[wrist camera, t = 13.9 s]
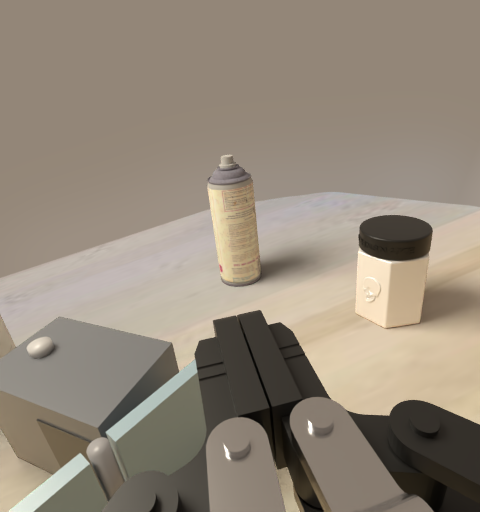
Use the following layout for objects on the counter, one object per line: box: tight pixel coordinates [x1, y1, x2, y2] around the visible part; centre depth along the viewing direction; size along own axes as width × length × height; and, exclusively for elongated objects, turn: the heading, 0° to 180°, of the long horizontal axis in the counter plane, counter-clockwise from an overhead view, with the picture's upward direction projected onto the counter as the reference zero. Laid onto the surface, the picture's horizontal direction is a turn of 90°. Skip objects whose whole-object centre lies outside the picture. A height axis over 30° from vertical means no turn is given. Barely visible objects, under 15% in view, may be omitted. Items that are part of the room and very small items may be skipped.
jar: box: [355, 215, 433, 328], centre depth 46 cm, size 9×8×12 cm
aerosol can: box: [207, 155, 261, 287], centre depth 57 cm, size 7×7×20 cm
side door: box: [8, 360, 206, 512], centre depth 26 cm, size 20×1×10 cm, turn 140°
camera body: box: [0, 317, 179, 501], centre depth 33 cm, size 16×9×11 cm, turn 66°
